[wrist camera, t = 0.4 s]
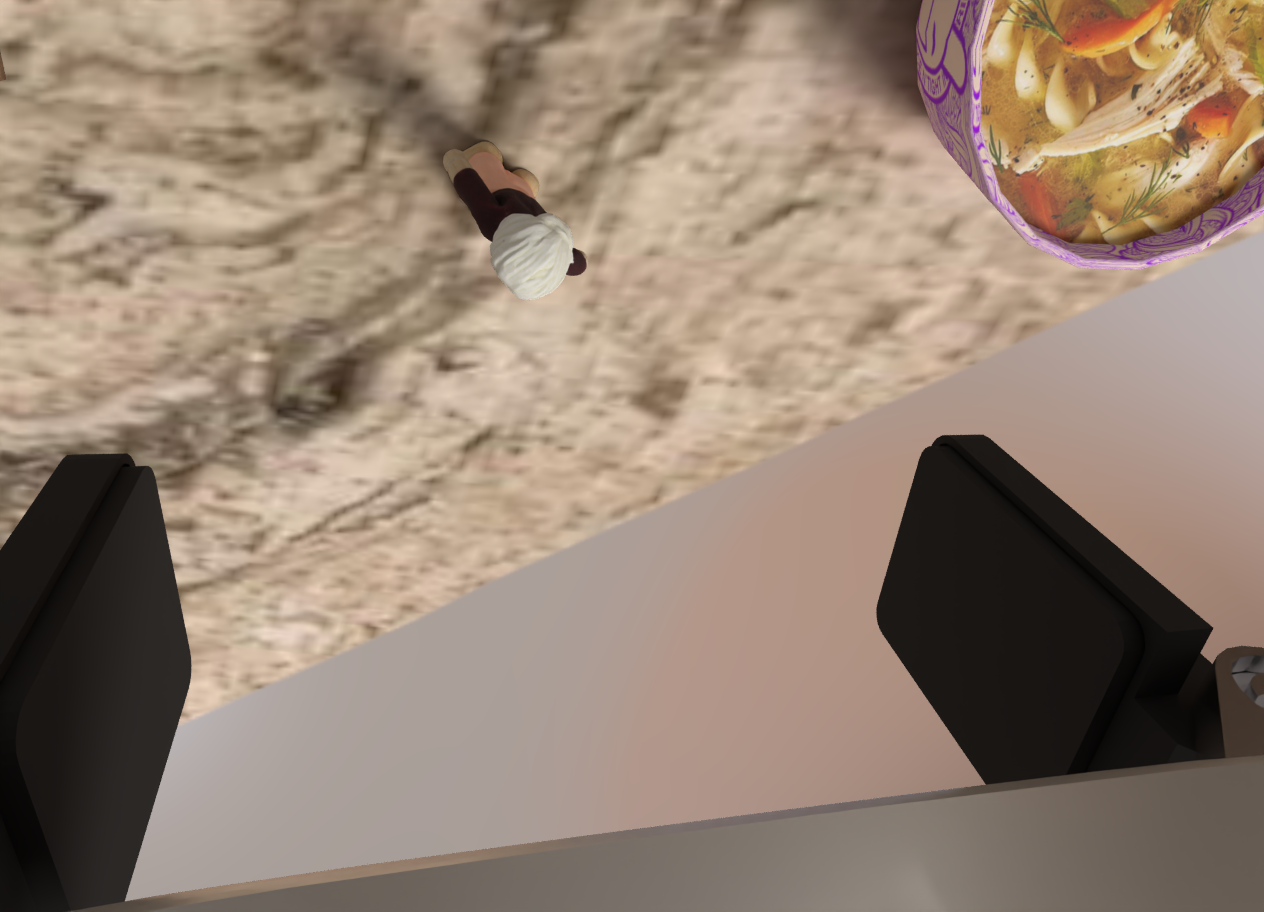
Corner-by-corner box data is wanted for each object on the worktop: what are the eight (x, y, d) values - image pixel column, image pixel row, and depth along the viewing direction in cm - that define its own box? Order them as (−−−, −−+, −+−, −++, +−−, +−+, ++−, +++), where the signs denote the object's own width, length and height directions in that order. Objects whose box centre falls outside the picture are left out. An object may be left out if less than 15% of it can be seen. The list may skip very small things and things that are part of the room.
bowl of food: (769, -23, 41) (879, -9, 31) (1136, -362, 37) (1391, -466, 28) (951, 276, 51) (1077, 356, 42) (1254, 33, 48) (1469, 58, 38)
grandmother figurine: (414, 186, 42) (415, 271, 32) (448, 113, 41) (461, 175, 30) (553, 256, 46) (596, 354, 35) (589, 190, 44) (644, 271, 34)
